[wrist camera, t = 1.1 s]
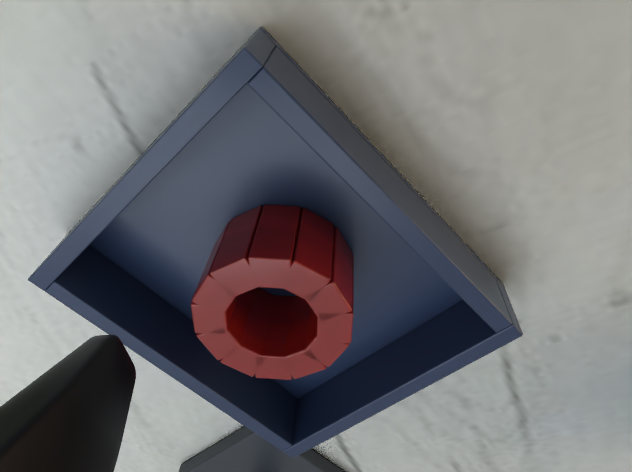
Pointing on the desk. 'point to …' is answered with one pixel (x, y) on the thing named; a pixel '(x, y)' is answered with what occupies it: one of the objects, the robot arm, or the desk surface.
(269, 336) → the ring
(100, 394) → the robot arm
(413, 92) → the desk surface
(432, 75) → the desk surface
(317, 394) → the box
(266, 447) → the ring stand
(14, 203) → the desk surface
